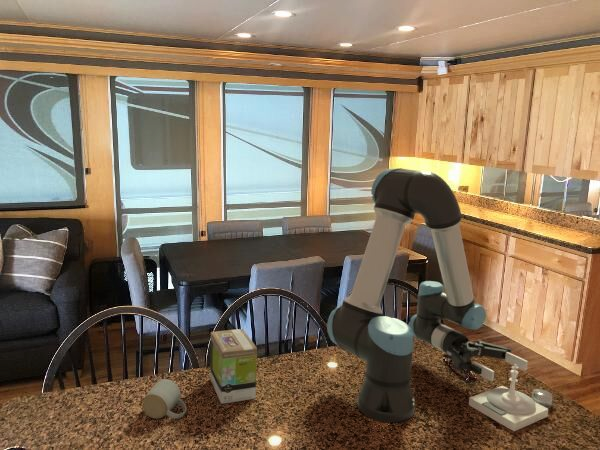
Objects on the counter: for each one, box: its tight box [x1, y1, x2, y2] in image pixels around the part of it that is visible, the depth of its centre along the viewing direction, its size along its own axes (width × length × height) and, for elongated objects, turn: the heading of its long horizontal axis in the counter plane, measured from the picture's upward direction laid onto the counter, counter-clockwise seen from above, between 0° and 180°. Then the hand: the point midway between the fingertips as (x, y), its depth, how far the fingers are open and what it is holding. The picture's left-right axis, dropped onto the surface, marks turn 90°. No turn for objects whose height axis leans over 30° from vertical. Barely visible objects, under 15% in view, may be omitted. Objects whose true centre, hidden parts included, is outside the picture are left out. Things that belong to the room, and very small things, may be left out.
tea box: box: [209, 328, 258, 404], centre depth 139 cm, size 15×10×15 cm
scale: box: [468, 385, 549, 432], centre depth 134 cm, size 14×14×3 cm
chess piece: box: [501, 364, 521, 404], centre depth 133 cm, size 5×5×10 cm
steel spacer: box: [531, 388, 553, 409], centre depth 138 cm, size 5×5×3 cm
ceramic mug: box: [141, 378, 187, 420], centre depth 126 cm, size 10×8×7 cm
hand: (510, 371), depth 134 cm, fingers open, 13 cm apart
